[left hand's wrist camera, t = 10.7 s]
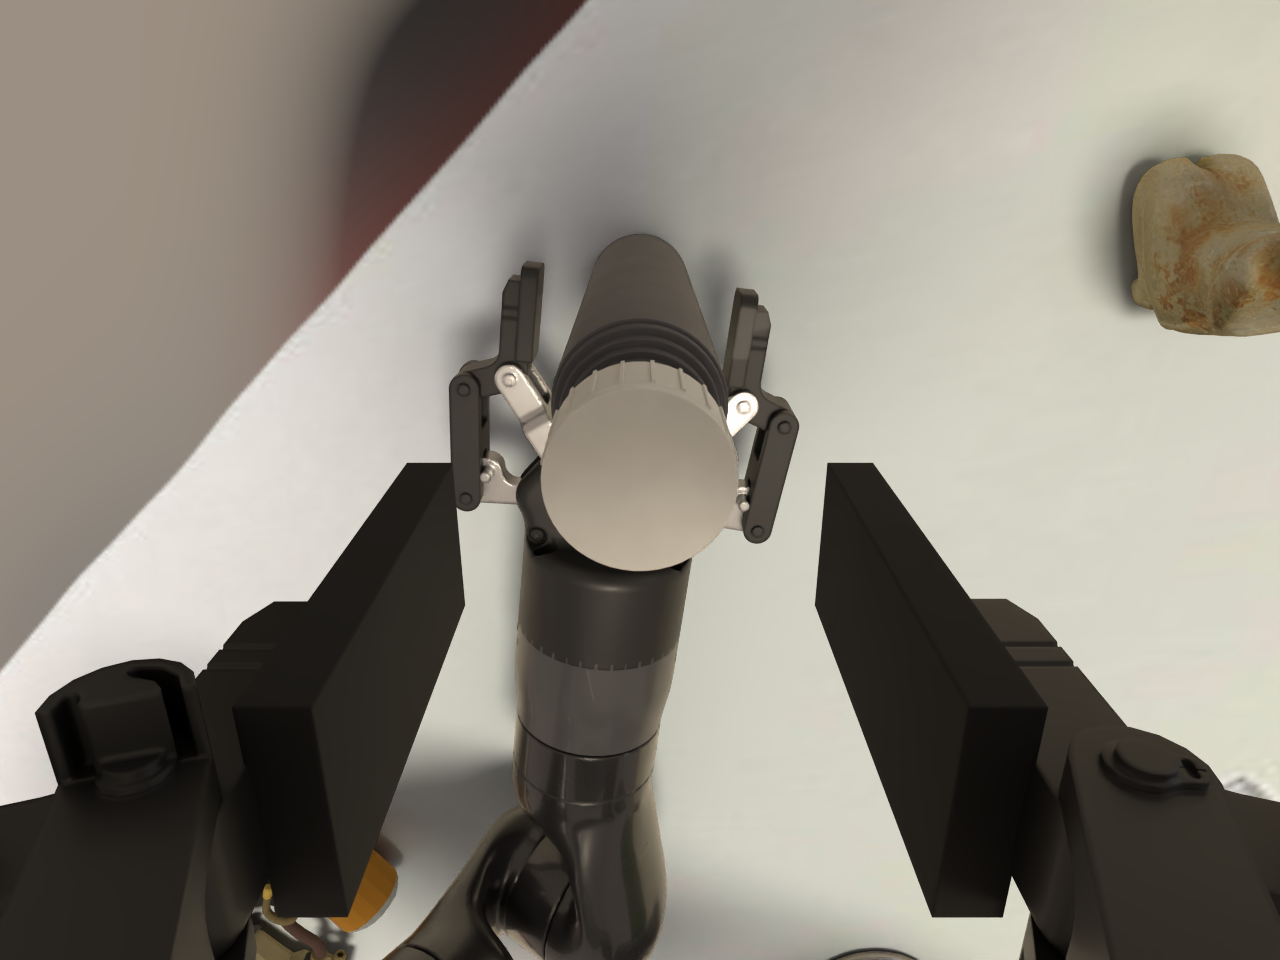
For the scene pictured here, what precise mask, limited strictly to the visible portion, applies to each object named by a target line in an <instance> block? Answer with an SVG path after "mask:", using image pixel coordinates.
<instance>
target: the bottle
mask: <svg viewBox="0 0 1280 960" xmlns="http://www.w3.org/2000/svg"><path fill="white" fill-rule="evenodd" d="M650 360H654V362H655V363H659V364H663V365H667V366H670V367H673V368H675V369H679V368H681V369H683V372H684V373H685V374H687V375H689V376H691V377H692V378H693V379H695V380H696V381H697V382H699V383H700V384H701V385H703V384H705V385H706V387H707V391H708V392H709V393H710V395H711V396H712V397H713V399H714V400H715V402H716V403H717V405H718V407H720V406H722V408H723V411H724V414H725V418H726V421H727V416H728V404H729V399H728V390H727V386H726V382H725V378H724V375H723V372H722V369H721V366H720V364H719V361H718V358H717V355H716V352H715V349H714V347H713V344H712V341H711V338H710V335H709V333H708V330H707V327H706V324H705V321H704V318H703V316H702V313H701V310H700V307H699V304H698V301H697V299H696V296H695V293H694V290H693V287H692V284H691V282H690V279H689V276H688V273H687V270H686V267H685V265H684V262H683V260H682V259H681V257H680V255H679V254H678V253H677V251H676V250H675V249H674V248H673V247H672V246H671V245H669V244H668V243H667V242H665V241H664V240H662V239H660V238H657V237H655V236H651V235H646V234H634V235H628V236H625V237H622V238H620V239H618V240H616V241H614V242H613V243H611V244H610V245H609V246H608V247H607V248H606V249H605V250H604V251H603V252H602V254H601V255H600V256H599V258H598V260H597V262H596V264H595V267H594V270H593V272H592V275H591V278H590V281H589V284H588V286H587V289H586V292H585V295H584V298H583V300H582V303H581V306H580V309H579V312H578V315H577V317H576V320H575V323H574V326H573V329H572V331H571V334H570V337H569V340H568V343H567V345H566V348H565V351H564V354H563V357H562V360H561V362H560V365H559V368H558V371H557V374H556V376H555V379H554V383H553V388H552V394H551V414H552V419H553V417H554V414H555V411H556V410H558V411H559V409H560V407H561V406H562V404H563V402H564V400H565V399H566V398H567V396H568V395H569V392H570V389H571V388H572V387H574V388H575V387H576V386H577V385H578V384H580V383H581V382H582V381H583V380H585V379H586V378H587V377H589V376H590V375H592V374H593V371H594V370H597V371H599V370H602V369H604V368H607V367H609V366H613V365H616V364H620V363H621V361H625V363H626V362H644V361H645V362H650Z"/></svg>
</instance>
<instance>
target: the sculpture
mask: <svg viewBox="0 0 1280 960" xmlns="http://www.w3.org/2000/svg"><path fill="white" fill-rule="evenodd" d="M1132 225H1133V237H1134V247H1135V254H1136V258H1137V267H1138V279H1135V280H1134V281H1133V283H1132V286H1131V290H1132V296H1133V299H1134V301H1135V303H1136V304H1138V305H1140V306H1141V307H1144V308H1147V309H1150V310H1154V311H1155V314H1156V316H1157V319H1158V321H1159V323H1160V325H1161V326H1162V327H1164V328H1165V329H1168V330H1175V331H1178V332H1182V333H1189V334H1198V335H1218V336H1240V337H1246V336H1255V335H1263V334H1269V333H1276V332H1280V223H1279V221H1278V218H1277V214H1276V211H1275V208H1274V205H1273V202H1272V199H1271V197H1270V194H1269V191H1268V188H1267V186H1266V183H1265V180H1264V178H1263V176H1262V174H1261V172H1260V170H1259V168H1258V167H1257V166H1256V165H1255V164H1254V163H1253V162H1252V161H1250V160H1249V159H1246V158H1244V157H1242V156H1239V155H1233V154H1217V155H1214V156H1207V157H1202V158H1201V159H1200V160H1199V162H1198V163H1197V164H1196V165H1195V164H1194V163H1192V162H1191V161H1190V160H1189V159H1188V158H1173V159H1169V160H1166V161H1163V162H1161V163H1159V164H1157V165H1155V166H1153V167H1152V168H1150V169H1149V170H1148V171H1147V172H1146V173H1145V174H1144V175H1143V177H1142V178H1141V180H1140V182H1139V184H1138V186H1137V188H1136V190H1135V194H1134V197H1133V206H1132Z"/></svg>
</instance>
